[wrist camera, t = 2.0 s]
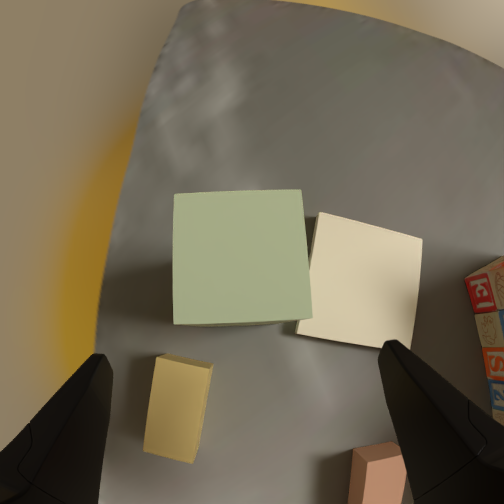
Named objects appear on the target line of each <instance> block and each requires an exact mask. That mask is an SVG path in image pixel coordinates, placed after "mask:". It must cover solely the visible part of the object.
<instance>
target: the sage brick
mask: <svg viewBox="0 0 504 504" xmlns="http://www.w3.org/2000/svg"><path fill="white" fill-rule="evenodd" d="M310 318H313V314H312V300H311V286H310V274H309V262H308V251H307V240H306V230H305V221H304V211H303V202H302V193H301V190H250V191H223V192H201V193H183V194H174V215H173V321H174V324H176V325H188V326H201V327H218V326H244V325H264V324H279V323H285V322H292V321H298V320H304V319H310Z"/></svg>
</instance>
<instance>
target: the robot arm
mask: <svg viewBox="0 0 504 504" xmlns="http://www.w3.org/2000/svg"><path fill="white" fill-rule="evenodd" d="M378 365H379V369H380V374H381V379H382V384H383V389H384V394H385V399H386V403H387V406H388V409H389V413H390V416H391V419H392V422H393V426H394V429H395V432H396V436H397V439H398V443H399V446H400V450H401V453H402V457H403V460H404V464H405V468H406V472H407V475H408V479H409V483H410V487H411V491H412V495H413V500H414V504H504V426H503V425H502V424H500V423H499V422H497V421H496V420H495V419H493V418H492V417H490V416H489V415H488V414H486V413H485V412H484V411H483V410H481V409H480V408H479V407H478V406H476V405H475V404H474V403H473V402H472V401H470V400H468V398H467V397H466V396H464V395H463V394H462V393H461V392H460V391H459V390H457V389H456V388H455V387H454V386H453V385H451V384H450V383H449V382H448V381H447V380H445V379H444V378H443V377H442V376H441V375H439V374H438V373H437V372H436V371H435V370H433V369H432V368H431V367H430V366H429V365H427V364H426V363H425V362H424V361H423V360H421V359H420V358H419V357H418V356H417V355H415V354H414V353H413V352H412V351H411V350H409V349H408V348H407V347H406V346H404V345H403V344H402V343H401V342H400V341H398V340H396V339H393V340H387V341H385V342H384V344H383V346H382V349H381V351H380V354H379V356H378ZM112 385H113V370H112V367H111V365H110V363H109V361H108V359H107V357H106V356H105V355H104V354H97V353H94V354H92V355H91V356H90V357H89V358H88V359H87V360H86V361H85V362H84V363H83V364H82V365H81V366H80V368H78V369H77V371H76V372H75V373H74V374H73V375H72V376H71V377H70V378H69V379H68V380H67V381H66V382H65V383H64V384H63V385H62V387H61V388H60V389H59V390H58V391H57V392H56V393H55V394H54V395H53V397H51V399H50V400H49V401H48V402H47V403H46V404H45V405H44V406H43V407H42V408H41V410H40V411H39V412H38V413H37V414H36V415H35V416H34V417H33V419H32V420H31V421H30V423H28V424H27V425H26V426H25V428H24V429H23V430H22V431H21V432H20V433H19V434H18V435H17V436H16V437H15V438H14V439H13V441H11V442H10V443H9V444H8V445H7V446H6V447H5V448H4V449H3V450H2V451H1V452H0V504H98V499H99V489H100V481H101V472H102V465H103V458H104V451H105V444H106V438H107V432H108V426H109V420H110V411H111V398H112Z"/></svg>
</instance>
